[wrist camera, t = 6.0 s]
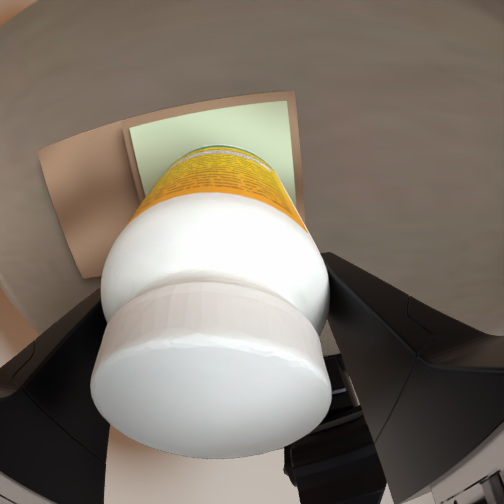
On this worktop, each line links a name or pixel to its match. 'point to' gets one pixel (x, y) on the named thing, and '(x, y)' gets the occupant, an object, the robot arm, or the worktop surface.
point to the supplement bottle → (214, 314)
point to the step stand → (159, 162)
